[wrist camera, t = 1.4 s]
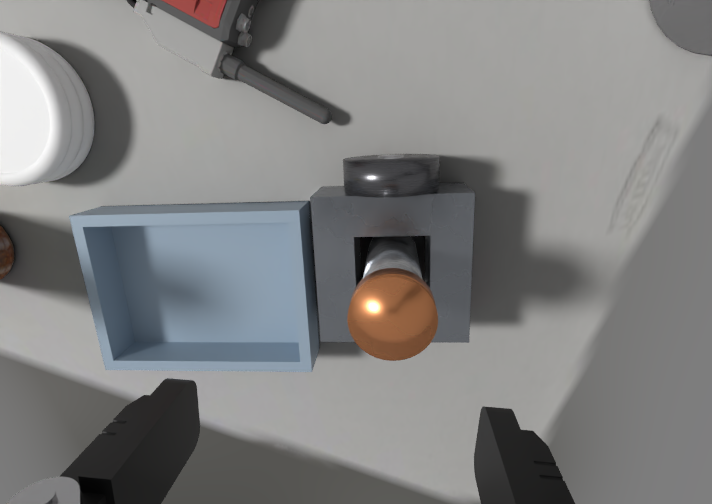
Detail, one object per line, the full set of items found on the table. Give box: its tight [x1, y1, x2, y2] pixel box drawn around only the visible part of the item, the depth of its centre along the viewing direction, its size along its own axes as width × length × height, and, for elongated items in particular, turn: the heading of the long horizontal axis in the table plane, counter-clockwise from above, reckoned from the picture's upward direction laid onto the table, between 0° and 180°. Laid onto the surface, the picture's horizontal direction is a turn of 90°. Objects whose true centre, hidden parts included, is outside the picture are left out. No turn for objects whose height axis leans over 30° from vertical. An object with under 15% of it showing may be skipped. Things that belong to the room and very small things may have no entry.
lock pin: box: [347, 236, 438, 361], centre depth 26 cm, size 4×4×12 cm
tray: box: [69, 201, 320, 372], centre depth 32 cm, size 16×12×4 cm
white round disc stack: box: [0, 31, 95, 186], centre depth 29 cm, size 10×10×4 cm
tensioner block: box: [310, 154, 475, 342], centre depth 29 cm, size 10×12×6 cm
